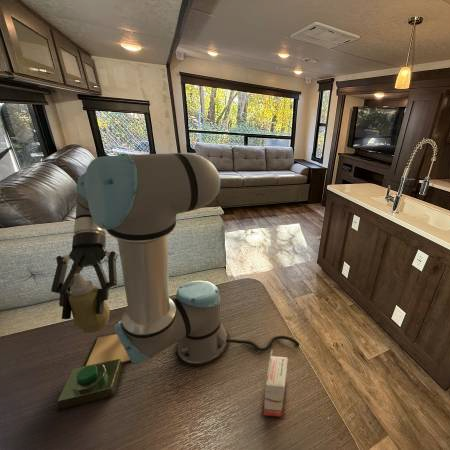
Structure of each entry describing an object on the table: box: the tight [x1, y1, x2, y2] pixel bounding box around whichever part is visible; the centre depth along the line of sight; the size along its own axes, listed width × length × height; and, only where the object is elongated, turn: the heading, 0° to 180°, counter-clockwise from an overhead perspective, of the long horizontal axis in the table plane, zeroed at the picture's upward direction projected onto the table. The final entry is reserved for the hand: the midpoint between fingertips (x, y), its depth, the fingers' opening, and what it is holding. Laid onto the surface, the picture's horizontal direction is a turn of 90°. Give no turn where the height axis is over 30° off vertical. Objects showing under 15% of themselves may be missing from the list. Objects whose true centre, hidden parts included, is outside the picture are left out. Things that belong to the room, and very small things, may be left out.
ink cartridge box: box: [263, 350, 289, 418], centre depth 65 cm, size 9×5×15 cm, turn 178°
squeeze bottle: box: [68, 272, 111, 334], centre depth 68 cm, size 8×8×18 cm
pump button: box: [77, 365, 98, 385], centre depth 64 cm, size 4×4×2 cm
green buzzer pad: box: [57, 359, 123, 409], centre depth 66 cm, size 11×9×5 cm
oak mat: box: [85, 333, 131, 366], centre depth 78 cm, size 12×12×1 cm
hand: (83, 315), depth 66 cm, fingers closed on squeeze bottle, 6 cm apart
